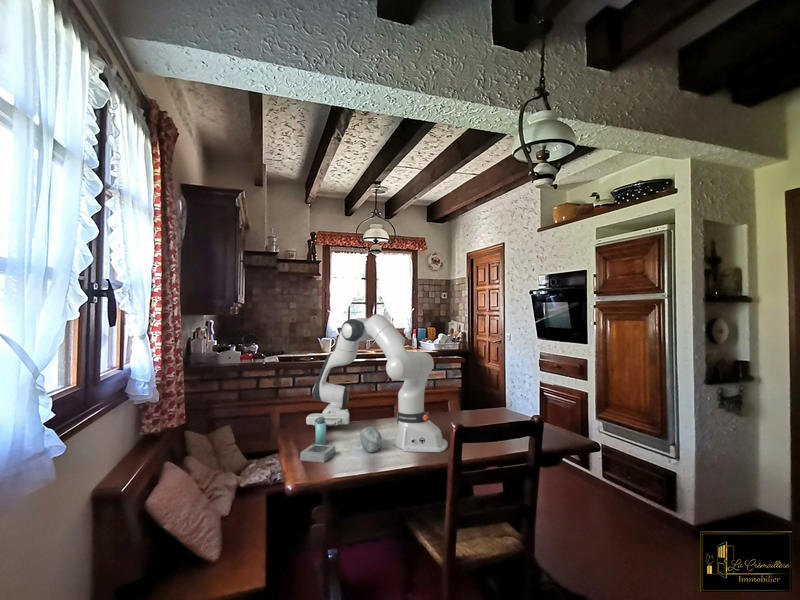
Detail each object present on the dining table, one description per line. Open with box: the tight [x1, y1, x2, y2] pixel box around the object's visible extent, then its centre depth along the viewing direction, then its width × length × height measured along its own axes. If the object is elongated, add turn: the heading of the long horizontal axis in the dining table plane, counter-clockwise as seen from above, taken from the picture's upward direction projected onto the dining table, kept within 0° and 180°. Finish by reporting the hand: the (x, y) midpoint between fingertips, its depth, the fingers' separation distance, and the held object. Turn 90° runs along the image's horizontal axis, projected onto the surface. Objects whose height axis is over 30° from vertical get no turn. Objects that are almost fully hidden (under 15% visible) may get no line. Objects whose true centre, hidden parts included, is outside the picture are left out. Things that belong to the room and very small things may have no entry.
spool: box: [359, 426, 383, 453], centre depth 163 cm, size 14×10×10 cm
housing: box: [299, 443, 336, 463], centre depth 153 cm, size 10×10×3 cm
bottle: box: [314, 417, 327, 445], centre depth 169 cm, size 4×4×11 cm
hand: (325, 423), depth 178 cm, fingers open, 8 cm apart
